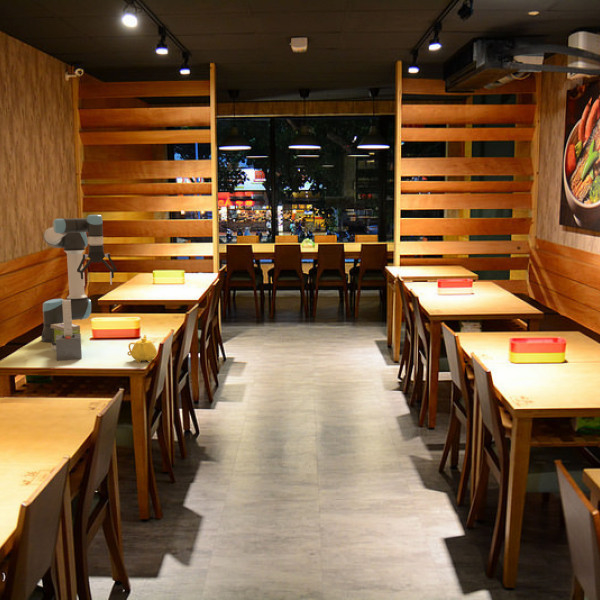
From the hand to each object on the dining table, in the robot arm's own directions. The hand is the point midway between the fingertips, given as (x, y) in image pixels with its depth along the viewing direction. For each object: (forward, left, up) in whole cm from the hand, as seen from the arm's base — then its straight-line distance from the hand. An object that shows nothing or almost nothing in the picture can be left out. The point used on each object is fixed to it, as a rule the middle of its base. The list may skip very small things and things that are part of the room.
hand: (97, 284), depth 369 cm
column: (+16, -10, -29) cm, 35 cm away
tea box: (-1, -20, -37) cm, 42 cm away
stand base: (+16, -10, -37) cm, 41 cm away
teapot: (+13, +28, -37) cm, 48 cm away
